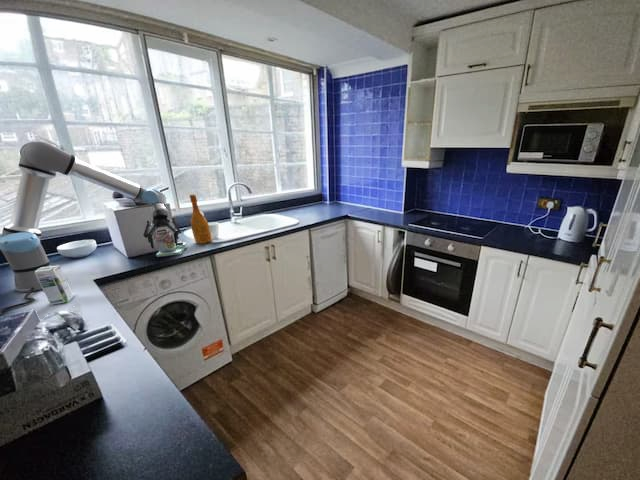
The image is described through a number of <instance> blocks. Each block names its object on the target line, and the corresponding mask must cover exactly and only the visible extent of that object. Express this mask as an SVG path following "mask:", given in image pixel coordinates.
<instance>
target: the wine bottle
mask: <svg viewBox="0 0 640 480" xmlns="http://www.w3.org/2000/svg"><path fill="white" fill-rule="evenodd" d="M189 200H190V203H191V207H192V214H191V219H190V228H191V231H192V234H193V238H194V241H195V243H196V244H199V245H203V244H208V243H210V242H212V240H213V239H212V233H211V228H210V225H209V223H208V222H209V221H208V220H207V218H206V217H205V213H204V212H203V210H201V209H200V207H199V206H198V199H197V196H196V194H190V195H189Z"/></svg>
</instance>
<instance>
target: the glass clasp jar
mask: <svg viewBox="0 0 640 480" xmlns="http://www.w3.org/2000/svg"><path fill="white" fill-rule="evenodd" d="M152 238H153V241H154V240H155V241H156V244H157V248H158V252H159V251H160V252H161V253H168V252H172V251H174V250H175V249H176V247H175V240H174V236H173V233H172V232H171V230H170V229H169V228H168V229H167V228H166V229H165V228H164V229H157V230H156V231H155V233H154V234H153V236H152Z"/></svg>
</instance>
